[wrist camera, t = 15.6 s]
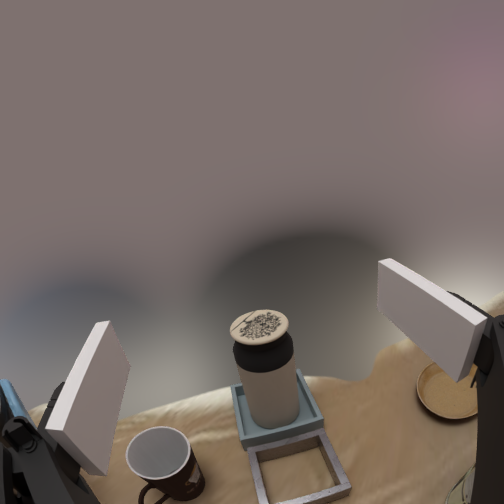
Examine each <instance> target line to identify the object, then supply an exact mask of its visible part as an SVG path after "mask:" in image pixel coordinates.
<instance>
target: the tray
mask: <svg viewBox="0 0 504 504" xmlns="http://www.w3.org/2000/svg"><path fill="white" fill-rule="evenodd" d="M296 377H297V387H298V397H299V407H300V410H299V414H298V416H297V418H296V419H295V420H294V421H293V422H292V423H290V424H289V425H287V426H284V427H280V428H276V429H268V428H264V427H261V426H259V425H257V424H256V423H255V422H254V421H253V419H252V417H251V414H250V410H249V407H248V403H247V400H246V396H245V393H244V389H243V386H242V383H239V384H234V385H231V392H232V398H233V404H234V409H235V415H236V420H237V426H238V431H239V436H240V441H241V443H242V446H243V448H244V451H246V450H247V448H249V447H254V446H259V445H263V444H268V443H272V442H276V441H280V440H284V439H287V438H291V437H295V436H298V435H302V434H305V433H308V432H312V431H315V430H318V429H321V428H323V425H324V418H323V416H322V414H321V412H320V410H319V408H318V406H317V404H316V402H315V400H314V398H313V396H312V394H311V392H310V390H309V388H308V386H307V383H306V381H305V379H304V377H303V375H302V373H301V371H300V369H296Z"/></svg>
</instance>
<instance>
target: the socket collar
mask: <svg viewBox="0 0 504 504" xmlns="http://www.w3.org/2000/svg"><path fill="white" fill-rule="evenodd" d="M316 447H319V448H320V451H321V453H322V455H323V457H324V460H325V462H326V464H327V466H328V469H329V471H330V473H331V475H332V478H333V480H334V482H335V484H336V486H335V487H332V488H329V489H326V490H323V491H320V492H317V493H313V494H310V495H307V496H303V497H300V498H296V499H292V500H288V501H284V502H280V503H276V504H326V503H329V502H332V501H335V500H338V499H341V498H343V497H346V496H349V494H350V491H351V488H352V487H351V485H350V482H349V480H348V478H347V476H346V474H345V472H344V470H343V468H342V466H341V464H340V462H339V460H338V458H337V456H336V453H335V451H334V449H333V447H332V445H331V443H330V441H329V439H328V437H327V435H326V433H325V430H324V428H321V429H318V430H315V431H312V432H308V433H305V434H302V435H298V436H295V437H291V438H287V439H284V440H280V441H276V442H272V443H268V444H263V445H259V446H254V447H249V448H247V451H248V456H249V461H250V465H251V470H252V474H253V478H254V483H255V487H256V491H257V496H258V500H259V504H269V500H268V496H267V492H266V489H265V485H264V481H263V477H262V473H261V469H260V465H259V462H264V461H268V460H272V459H277V458H281V457H284V456H288V455H292V454H296V453H299V452H303V451H306V450H309V449H312V448H316Z"/></svg>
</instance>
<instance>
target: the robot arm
mask: <svg viewBox="0 0 504 504" xmlns="http://www.w3.org/2000/svg"><path fill="white" fill-rule="evenodd" d="M377 309H378V310H379V311H380V312H381V313H382V314H383V315H384V316H385V317H387V318H388V319H389V320H390V321H391V322H392V323H393V324H394V325H395V326H397V327H398V328H399V329H400V330H401V331H402V332H403V333H404V334H405V335H406V336H407V337H409V338H410V339H411V340H412V341H413V342H414V343H415V344H416V345H417V346H418V347H419V348H420V349H421V350H423V351H424V352H425V353H426V354H427V355H428V356H429V357H430V358H431V359H432V360H433V361H434V362H435V363H436V364H437V365H438V366H439V367H440V368H441V369H443V370H444V371H445V372H446V373H447V374H448V375H449V376H450V377H451V378H452V379H453V380H454V381H455V382H456V383H458V382H459V381H461V380H462V379H463V378H465V377H466V376H468V375H469V373H470V370H471V368H472V365H473V363H474V364H475V365H476V366H477V367H478V368H477V370H476V373H475V375H474V378H473V380H472V382H471V386H470V388H473V385H474V383H475V382H476V388H477V408H478V432H477V453H476V465H475V474H474V482H473V489H472V495H471V501H470V504H504V315H498V316H497V317H495V318H494V317H492V316H491V315H489V314H488V313H486V312H484V311H483V310H481V309H480V308H478V307H477V306H475V305H472V303H470V302H469V301H467V300H465V299H464V298H462V297H461V296H459V295H458V294H455V293H452V292H449V291H445V290H443V289H442V288H440V287H438V286H437V285H435V284H434V283H432V282H430V281H428V280H427V279H425V278H423V277H422V276H420V275H419V274H417V273H415V272H414V271H412V270H410V269H408V268H407V267H405V266H403V265H402V264H400V263H398V262H396V261H395V260H393V259H391V258H389V259H385V260H382V261H379V262H378V300H377ZM130 367H131V366H130V364H129V362H128V360H127V358H126V355H125V353H124V351H123V349H122V347H121V345H120V343H119V340H118V338H117V336H116V334H115V331H114V329H113V327H112V324H111V322H110V321H105V322H99V323H96V324H95V326H94V328H93V330H92V332H91V334H90V335H89V337H88V339H87V341H86V343H85V345H84V346H83V349H82V350H81V352H80V354H79V356H78V358H77V360H76V362H75V364H74V366H73V368H72V370H71V372H70V374H69V376H68V378H67V380H66V382H62V383H61V384H60V385H59V386H58V387H57V388H56V389H55V391H54V393H53V395H52V397H51V401H49V403H48V405H47V408H46V410H45V412H44V414H43V416H42V419H41V421H40V423H39V426H38V428H37V427H36V426H35V424H34V422H33V421H32V419H31V417H30V416H29V414H28V412H27V410H26V409H25V407H24V405H23V404H22V402H21V400H20V398H19V396H18V395H17V393H16V391H15V389H14V388H13V386H12V384H11V383H10V381H9V380H7V379H2V380H0V504H100V502H99V501H98V499H97V498H96V497H95V495H94V494H93V492H92V490H91V489H90V487H89V486H88V484H87V483H86V481H85V479H84V478H83V477H82V476H81V475H80V474H79V472H80V468H81V467H82V468H83V469H84V470H85V471H86V472H87V473H88V474H89V475H99V476H107V471H108V465H109V460H110V454H111V449H112V444H113V439H114V434H115V429H116V424H117V420H118V415H119V411H120V406H121V402H122V398H123V394H124V390H125V386H126V382H127V378H128V374H129V371H130Z"/></svg>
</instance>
